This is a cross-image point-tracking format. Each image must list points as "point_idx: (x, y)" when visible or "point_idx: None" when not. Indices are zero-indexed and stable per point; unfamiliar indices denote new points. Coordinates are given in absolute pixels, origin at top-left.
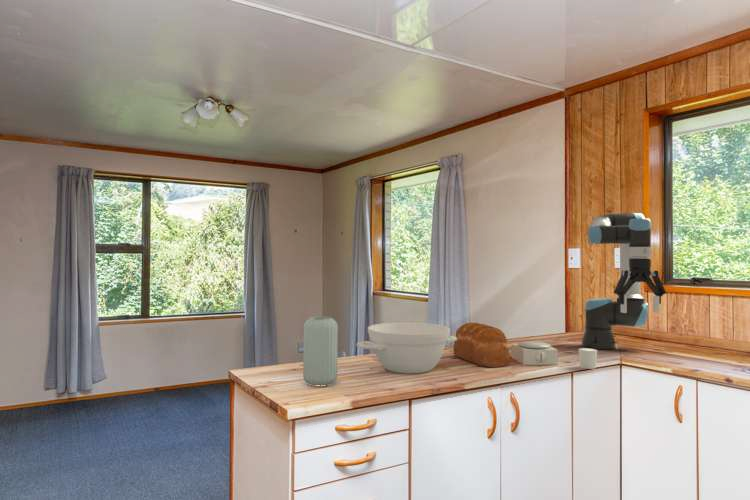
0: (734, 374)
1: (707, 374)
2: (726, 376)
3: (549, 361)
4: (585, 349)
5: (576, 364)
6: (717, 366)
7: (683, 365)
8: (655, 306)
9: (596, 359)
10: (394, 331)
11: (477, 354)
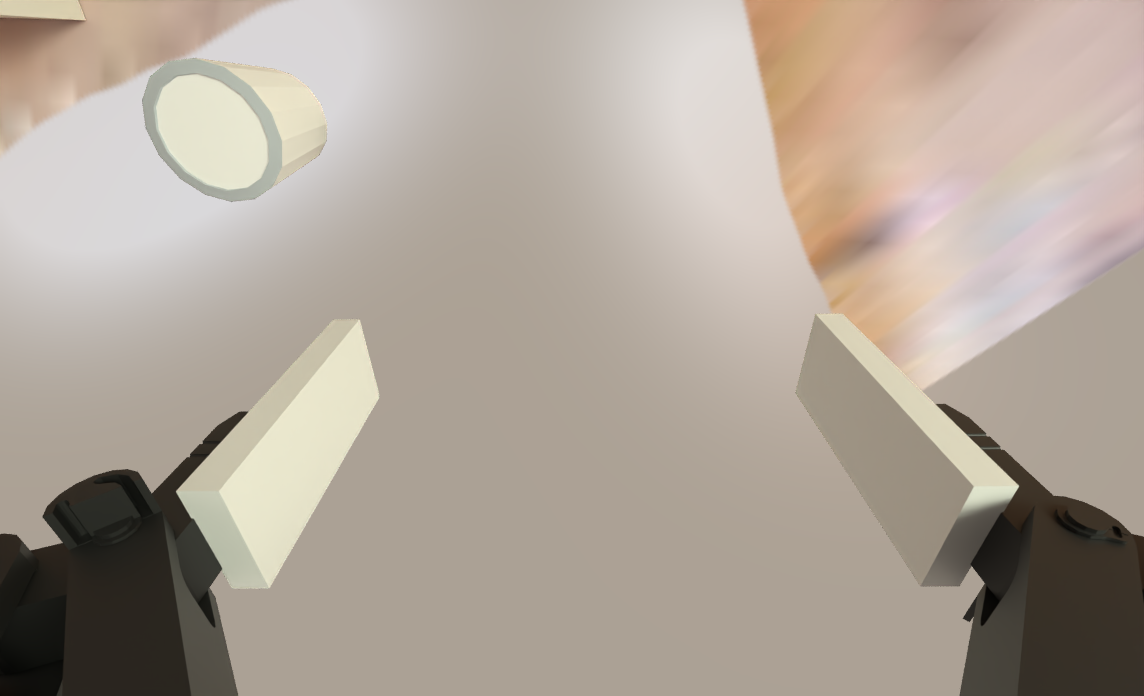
0: (960, 335)
1: None
2: None
3: (6, 17)
4: (197, 122)
5: (221, 24)
6: (1103, 161)
7: (925, 116)
8: (839, 407)
9: (307, 152)
10: None
11: None
